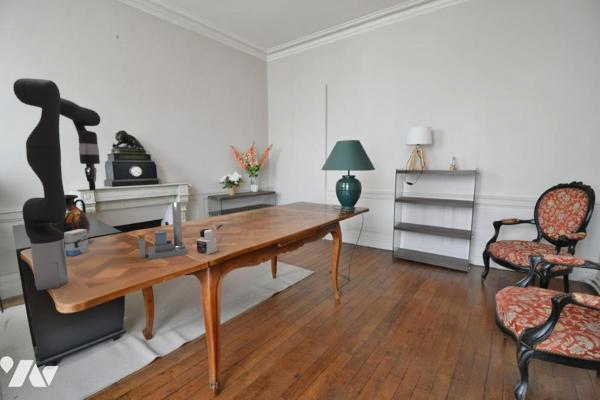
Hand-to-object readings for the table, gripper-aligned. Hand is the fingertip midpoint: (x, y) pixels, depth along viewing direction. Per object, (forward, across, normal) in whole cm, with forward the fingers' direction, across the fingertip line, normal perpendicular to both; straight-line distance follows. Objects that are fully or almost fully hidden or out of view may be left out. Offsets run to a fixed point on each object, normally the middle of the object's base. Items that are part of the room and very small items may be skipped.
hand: (92, 190), depth 134 cm
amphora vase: (+33, +30, +18) cm, 48 cm away
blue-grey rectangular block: (+30, -10, -28) cm, 43 cm away
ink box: (+33, +10, +10) cm, 36 cm away
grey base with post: (+33, -10, -28) cm, 44 cm away
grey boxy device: (+33, -18, -49) cm, 62 cm away
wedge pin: (+33, -10, -20) cm, 39 cm away
